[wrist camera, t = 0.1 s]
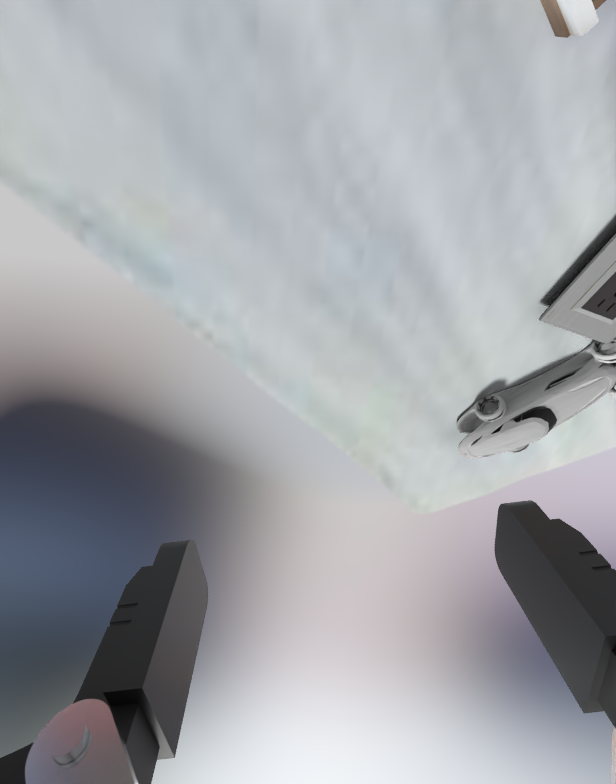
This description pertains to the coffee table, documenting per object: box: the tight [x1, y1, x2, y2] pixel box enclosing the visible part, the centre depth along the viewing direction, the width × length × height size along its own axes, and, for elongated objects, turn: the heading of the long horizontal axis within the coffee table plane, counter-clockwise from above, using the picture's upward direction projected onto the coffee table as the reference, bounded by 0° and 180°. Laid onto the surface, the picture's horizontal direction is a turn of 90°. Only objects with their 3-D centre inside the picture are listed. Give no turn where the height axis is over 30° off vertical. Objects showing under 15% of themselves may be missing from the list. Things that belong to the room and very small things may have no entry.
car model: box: [457, 337, 616, 459], centre depth 53 cm, size 11×24×5 cm, turn 130°
